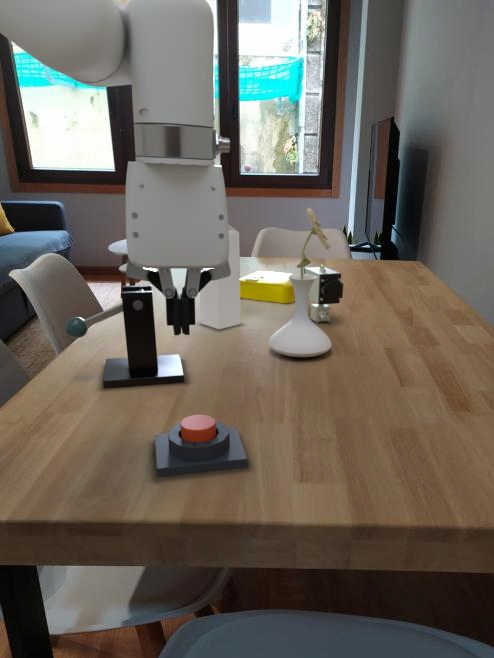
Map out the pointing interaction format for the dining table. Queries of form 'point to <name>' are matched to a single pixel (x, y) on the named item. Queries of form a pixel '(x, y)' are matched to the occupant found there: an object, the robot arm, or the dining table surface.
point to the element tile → (267, 287)
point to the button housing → (199, 452)
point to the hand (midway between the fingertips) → (181, 331)
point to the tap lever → (90, 321)
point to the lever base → (141, 346)
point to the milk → (223, 292)
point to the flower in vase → (302, 311)
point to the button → (198, 428)
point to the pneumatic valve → (324, 291)
